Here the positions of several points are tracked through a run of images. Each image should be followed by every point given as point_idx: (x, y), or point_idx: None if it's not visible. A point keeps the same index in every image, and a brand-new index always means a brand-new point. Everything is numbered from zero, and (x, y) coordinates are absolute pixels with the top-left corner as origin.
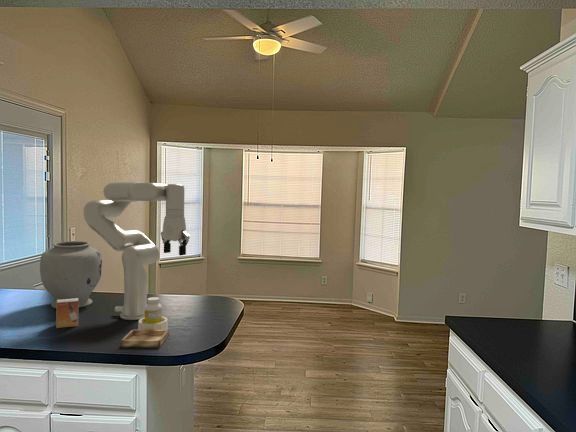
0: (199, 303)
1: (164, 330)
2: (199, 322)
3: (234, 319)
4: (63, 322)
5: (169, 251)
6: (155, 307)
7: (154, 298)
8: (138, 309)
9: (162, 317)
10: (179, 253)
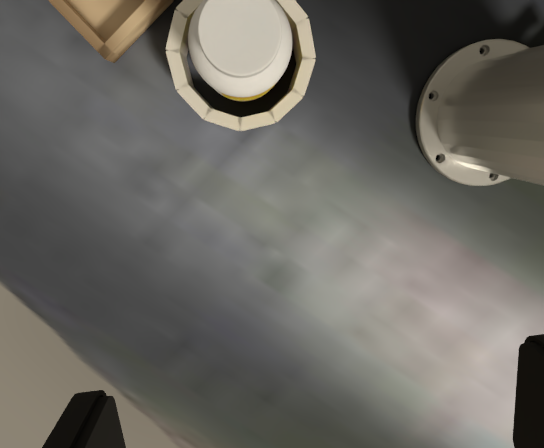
0: (421, 423)
1: (111, 38)
2: (191, 272)
3: (126, 395)
4: None
5: (524, 438)
6: (192, 25)
7: (238, 40)
8: (457, 100)
9: (248, 116)
10: (73, 410)
